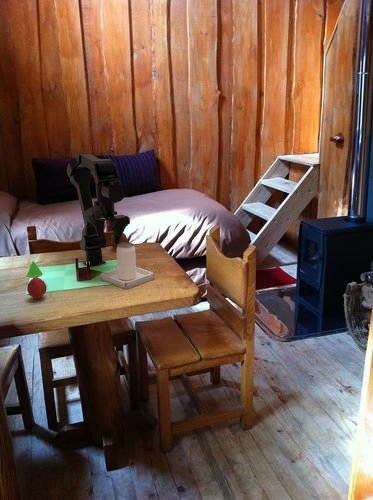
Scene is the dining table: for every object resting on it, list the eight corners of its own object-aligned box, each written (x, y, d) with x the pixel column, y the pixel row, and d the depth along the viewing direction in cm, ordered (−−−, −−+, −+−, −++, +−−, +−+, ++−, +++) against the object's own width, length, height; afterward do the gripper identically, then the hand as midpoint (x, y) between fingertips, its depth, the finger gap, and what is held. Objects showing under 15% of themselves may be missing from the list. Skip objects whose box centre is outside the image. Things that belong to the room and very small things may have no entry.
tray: (100, 279, 162) (100, 273, 161) (129, 269, 171) (129, 264, 170) (125, 289, 153) (125, 283, 152) (154, 279, 161) (154, 273, 161)
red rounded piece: (37, 304, 143) (34, 280, 141) (24, 300, 146) (21, 276, 143) (51, 297, 148) (48, 274, 145) (39, 294, 151) (36, 271, 148)
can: (138, 279, 159) (136, 246, 156) (119, 281, 158) (117, 248, 154) (134, 273, 165) (133, 241, 162) (116, 275, 164) (114, 243, 160)
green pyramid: (45, 276, 167) (43, 260, 165) (28, 279, 164) (26, 263, 162) (40, 271, 172) (39, 256, 170) (24, 274, 169) (22, 259, 167)
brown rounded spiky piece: (130, 250, 194) (128, 215, 189) (119, 253, 190) (117, 218, 185) (120, 247, 198) (117, 213, 194) (109, 250, 194) (106, 215, 190)
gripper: (69, 197, 157) (73, 241, 162) (102, 204, 145) (105, 252, 149) (96, 192, 165) (100, 234, 169) (129, 199, 152) (132, 244, 157)
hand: (108, 241), depth 161 cm, fingers open, 9 cm apart
